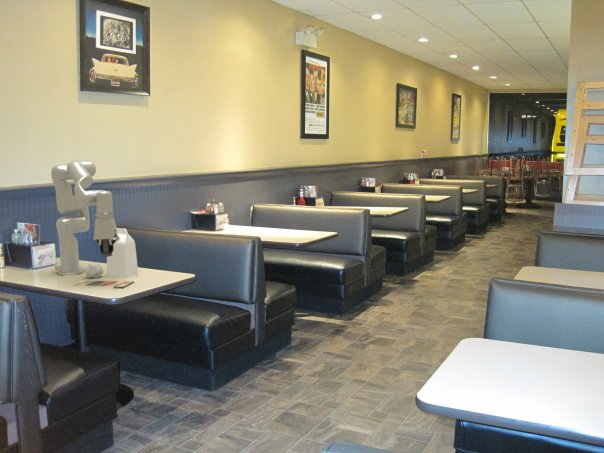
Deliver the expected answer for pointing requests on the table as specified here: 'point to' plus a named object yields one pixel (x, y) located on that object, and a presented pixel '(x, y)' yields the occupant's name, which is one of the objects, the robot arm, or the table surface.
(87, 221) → the robot arm
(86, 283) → the game board
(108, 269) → the milk
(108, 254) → the pawn
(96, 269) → the white faceted ball
